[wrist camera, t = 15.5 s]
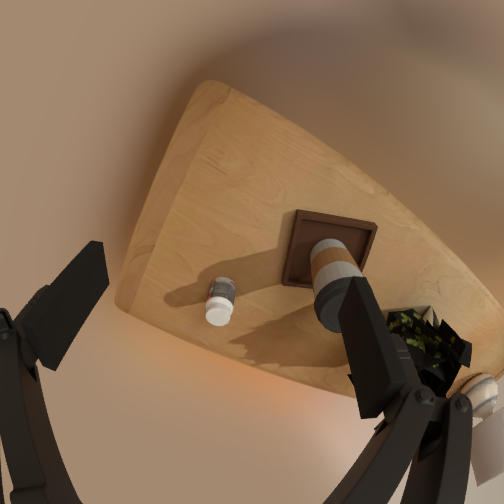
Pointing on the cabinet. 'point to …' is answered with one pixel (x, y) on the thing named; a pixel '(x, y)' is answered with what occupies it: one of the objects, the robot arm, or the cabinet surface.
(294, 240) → the tray
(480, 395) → the lamp
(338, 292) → the coffee cup
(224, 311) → the pill bottle
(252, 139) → the cabinet surface
